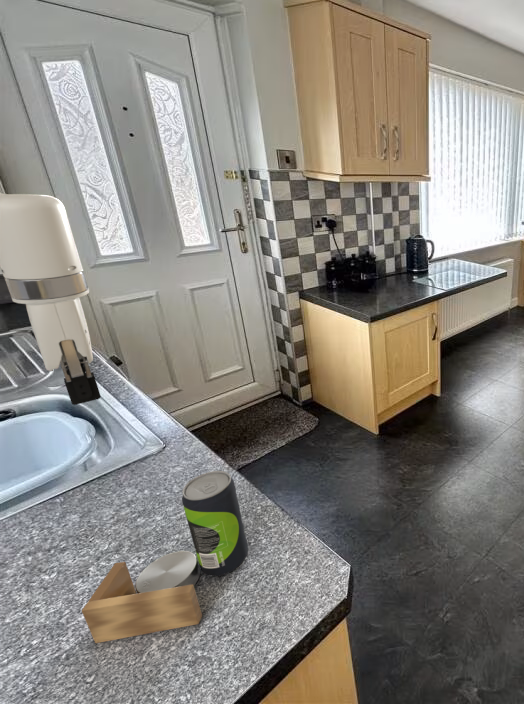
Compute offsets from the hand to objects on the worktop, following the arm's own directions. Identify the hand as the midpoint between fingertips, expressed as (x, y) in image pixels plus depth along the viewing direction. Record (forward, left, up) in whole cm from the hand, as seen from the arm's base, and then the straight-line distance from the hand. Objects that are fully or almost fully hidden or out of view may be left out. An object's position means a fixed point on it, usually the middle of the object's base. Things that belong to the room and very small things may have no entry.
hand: (86, 399), depth 65 cm
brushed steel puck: (+14, -16, -23) cm, 31 cm away
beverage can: (+20, -14, -23) cm, 33 cm away
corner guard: (+14, -20, -23) cm, 34 cm away
